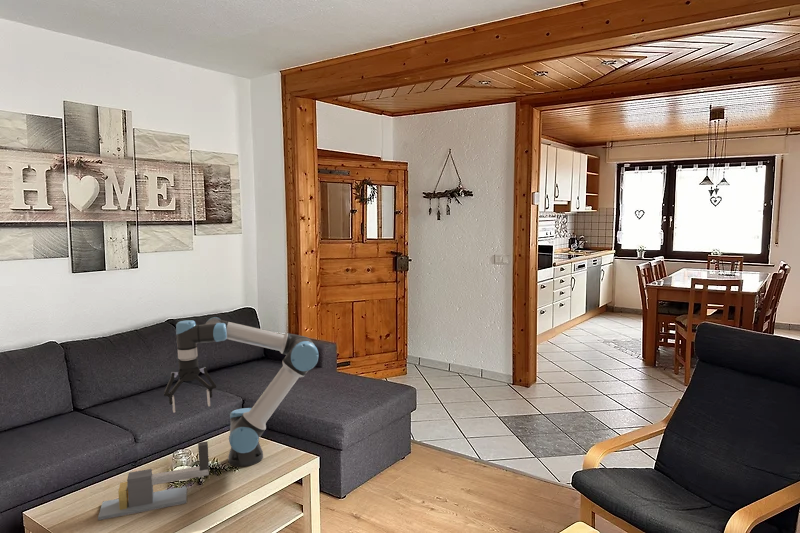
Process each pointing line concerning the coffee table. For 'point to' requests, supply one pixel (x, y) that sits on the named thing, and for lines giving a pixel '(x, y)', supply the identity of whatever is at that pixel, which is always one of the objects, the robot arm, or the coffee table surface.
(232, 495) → the coffee table surface
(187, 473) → the shaft
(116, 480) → the coffee table surface
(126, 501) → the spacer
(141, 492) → the bracket
